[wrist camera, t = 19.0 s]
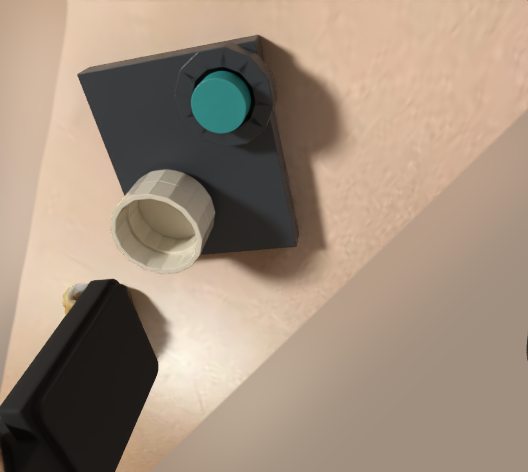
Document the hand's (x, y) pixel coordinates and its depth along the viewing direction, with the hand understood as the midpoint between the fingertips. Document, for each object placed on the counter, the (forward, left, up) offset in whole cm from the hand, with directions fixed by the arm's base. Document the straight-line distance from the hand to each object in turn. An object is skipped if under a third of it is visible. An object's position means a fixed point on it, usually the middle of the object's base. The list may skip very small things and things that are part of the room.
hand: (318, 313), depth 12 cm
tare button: (+1, -8, -23) cm, 25 cm away
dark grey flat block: (+6, -12, -26) cm, 30 cm away
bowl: (+9, -15, -24) cm, 30 cm away
